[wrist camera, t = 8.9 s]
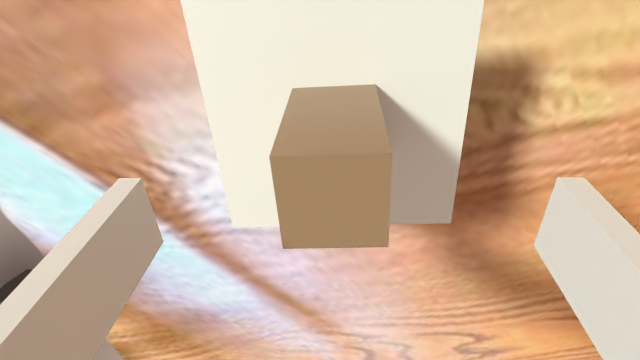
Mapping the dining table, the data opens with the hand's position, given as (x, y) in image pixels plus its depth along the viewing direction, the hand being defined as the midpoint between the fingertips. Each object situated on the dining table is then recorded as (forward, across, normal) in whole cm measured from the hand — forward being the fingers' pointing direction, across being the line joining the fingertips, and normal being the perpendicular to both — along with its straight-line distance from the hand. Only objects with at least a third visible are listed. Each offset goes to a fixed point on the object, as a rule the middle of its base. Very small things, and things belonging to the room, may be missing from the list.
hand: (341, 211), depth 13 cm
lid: (+9, 0, 0) cm, 9 cm away
